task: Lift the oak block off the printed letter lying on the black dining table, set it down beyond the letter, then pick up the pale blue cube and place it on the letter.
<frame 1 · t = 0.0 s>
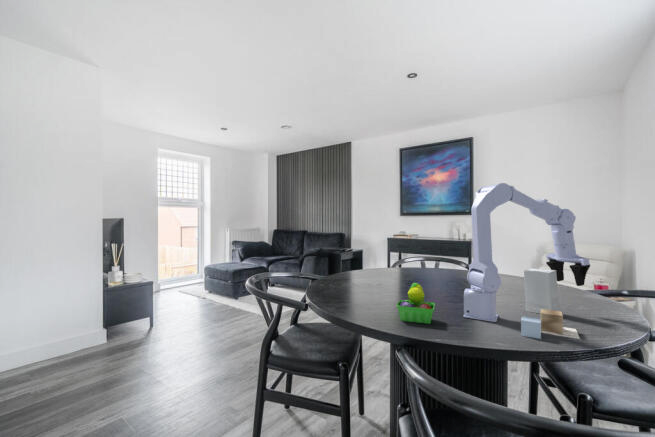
hand: (570, 282, 104), 11 cm above the table, tool pointing down, fingers open, 7 cm apart
oak block: (551, 329, 89), resting on letter
skincare box: (541, 313, 106), on the table
letter: (551, 329, 89), on the table
blue cube: (530, 335, 85), on the table
fruit basket: (416, 320, 99), on the table
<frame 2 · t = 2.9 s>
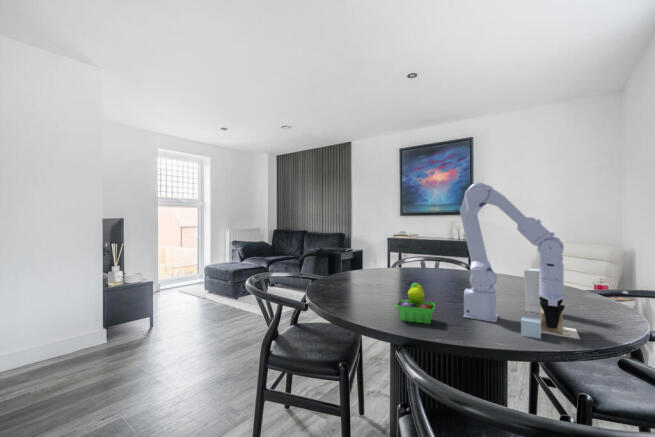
hand: (551, 325, 89), 1 cm above the table, tool pointing down, fingers closed on oak block, 5 cm apart
oak block: (551, 329, 89), resting on letter, touching gripper
everything else where it was.
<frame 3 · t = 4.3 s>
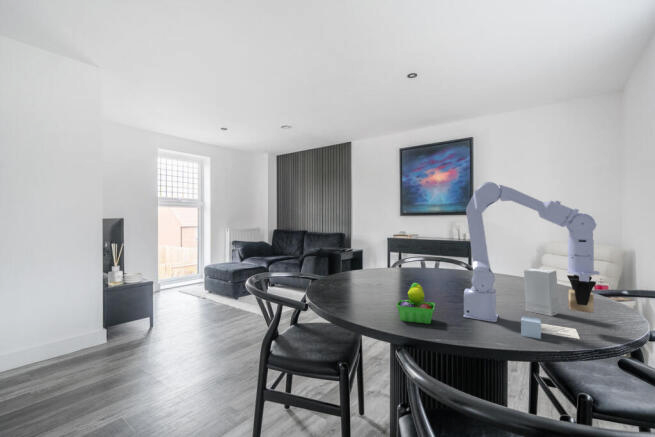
hand: (580, 302, 88), 8 cm above the table, tool pointing down, fingers closed on oak block, 5 cm apart
oak block: (580, 309, 88), point 6 cm above the table, touching gripper
everything else where it was.
when the fingers open (3 cm above the table, at t = 5.6 s): oak block stays where it is, resting on letter.
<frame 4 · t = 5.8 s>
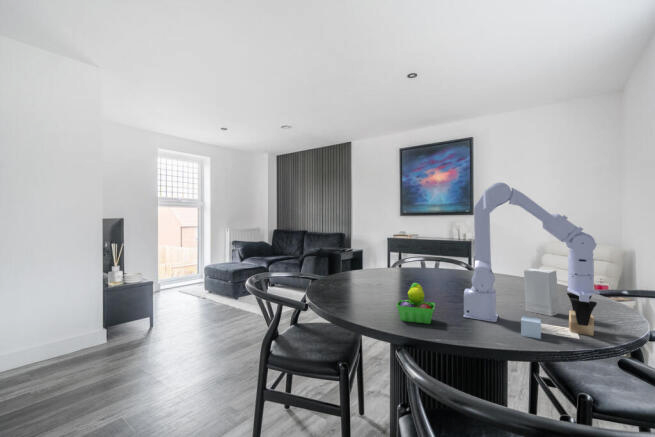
hand: (580, 321, 88), 3 cm above the table, tool pointing down, fingers open, 6 cm apart
oak block: (580, 331, 88), resting on letter
everything else where it was.
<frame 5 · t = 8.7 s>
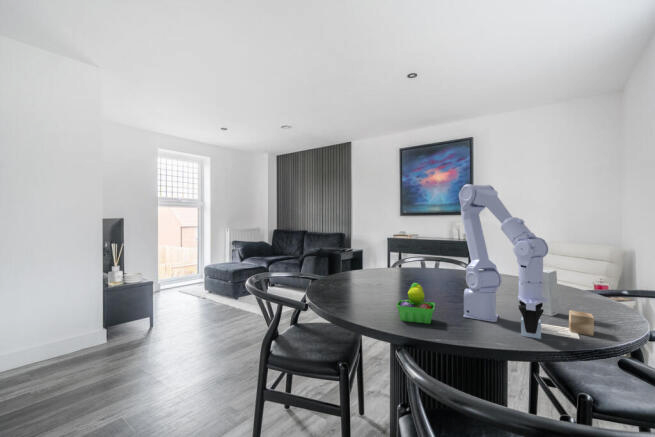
hand: (530, 330, 85), 1 cm above the table, tool pointing down, fingers closed on blue cube, 4 cm apart
blue cube: (530, 335, 85), on the table, touching gripper
everything else where it was.
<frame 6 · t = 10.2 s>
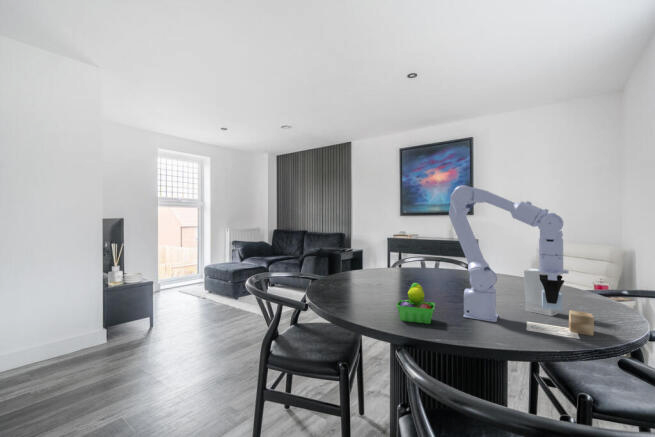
hand: (551, 301, 89), 8 cm above the table, tool pointing down, fingers closed on blue cube, 5 cm apart
blue cube: (551, 307, 89), point 7 cm above the table, touching gripper
everything else where it was.
when the fingers open (3 cm above the table, at t = 11.8 s): blue cube stays where it is, resting on letter.
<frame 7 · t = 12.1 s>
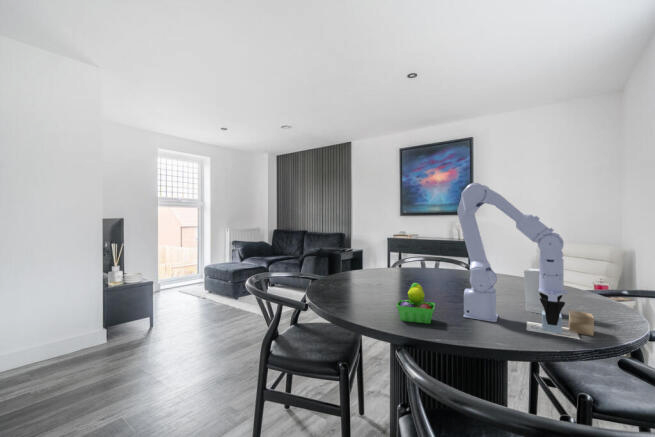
hand: (551, 321, 89), 3 cm above the table, tool pointing down, fingers open, 7 cm apart
blue cube: (551, 329, 89), resting on letter
everything else where it was.
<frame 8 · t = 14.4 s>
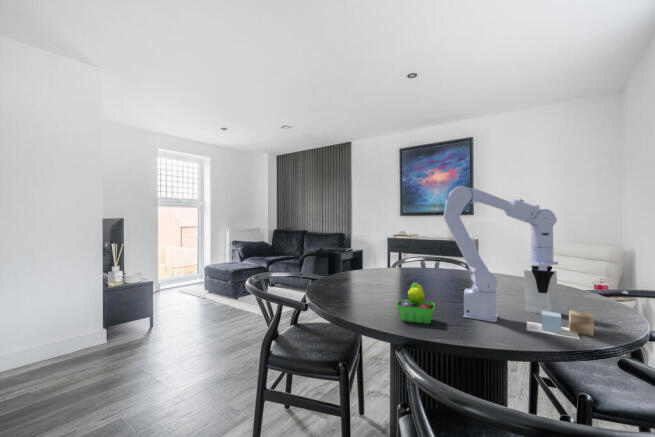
hand: (542, 290, 96), 10 cm above the table, tool pointing down, fingers open, 7 cm apart
nothing on the table moved.
at the end: blue cube inside the target area on the letter (0.1 cm from its centre), point 0.1 cm above the letter's base; blue cube tilted 0°; oak block inside the target area (1.1 cm from its centre), on the table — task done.
